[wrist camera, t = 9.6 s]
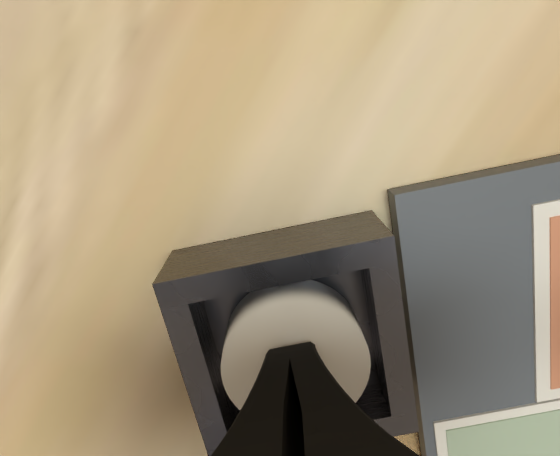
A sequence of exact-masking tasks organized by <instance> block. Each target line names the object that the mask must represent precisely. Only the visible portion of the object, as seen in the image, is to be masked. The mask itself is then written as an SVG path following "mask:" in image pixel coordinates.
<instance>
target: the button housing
mask: <svg viewBox="0 0 560 456" xmlns="http://www.w3.org/2000/svg"><path fill="white" fill-rule="evenodd" d="M306 280H314V281H317V282H320V283H323V284H325V285H327V286H329V287H331V288H332V289H334V290H335V291H337V292H338V293H339V294H340V295H341V296H343V297H344V298H345V299H346V301H347V302H348V303H349V304H350V306H351V308H352V309H353V311H354V313H355V315H356V318H357V320H358V323H359V325H360V328H361V330H362V333H363V335H364V338H365V340H366V343H367V346H368V349H369V353H370V360H371V368H370V375H369V380H368V382H367V385H366V388H365V390H364V391H363V393H362V395H361V397H360V398H359V399H358V401H357V402H356V404H357V405H358V406H359V407H360V408H361V409H362V410H363V411H364V412H365V413H366V414H367V415H368V416H369V417H370V418H371V419H372V420H374V421H375V422H376V423H377V424H378V425H379V426H380V427H382V428H383V429H384V430H385V431H386V432H388V433H389V434H390V435H391V436H399V435H404V434H410V433H415V432H419V427H418V420H417V412H416V404H415V396H414V388H413V380H412V372H411V364H410V356H409V348H408V340H407V332H406V325H405V317H404V309H403V301H402V293H401V285H400V277H399V269H398V261H397V253H396V245H395V237H394V235H393V234H392V233H391V232H390V230H389V229H388V228H387V227H386V226H385V225H384V224H383V223H382V221H381V220H380V219H379V218H378V217H377V216H376V215H375V214H374V212H373V211H367V212H362V213H357V214H352V215H347V216H342V217H337V218H332V219H327V220H323V221H318V222H313V223H308V224H303V225H298V226H293V227H288V228H283V229H278V230H273V231H268V232H263V233H258V234H253V235H248V236H244V237H239V238H234V239H229V240H224V241H219V242H214V243H209V244H204V245H199V246H194V247H189V248H184V249H179V250H174V251H172V252H171V254H170V256H169V257H168V259H167V261H166V262H165V264H164V266H163V267H162V269H161V271H160V272H159V274H158V276H157V277H156V279H155V281H154V282H153V284H152V285H153V288H154V291H155V294H156V297H157V300H158V303H159V306H160V309H161V312H162V315H163V318H164V322H165V325H166V328H167V331H168V334H169V337H170V340H171V343H172V346H173V349H174V352H175V355H176V358H177V361H178V364H179V367H180V371H181V374H182V377H183V380H184V383H185V386H186V389H187V392H188V395H189V398H190V401H191V404H192V407H193V410H194V413H195V416H196V420H197V423H198V426H199V429H200V432H201V435H202V438H203V441H204V444H205V447H206V450H207V453H208V456H211V454H212V453H213V452H214V451H215V449H216V448H217V446H218V445H219V444H220V442H221V441H222V439H223V438H224V436H225V435H226V433H227V432H228V430H229V429H230V427H231V426H232V424H233V422H234V421H235V419H236V417H237V415H238V414H239V412H240V410H239V409H238V408H237V407H236V406H235V405H234V404H233V402H232V401H231V400H230V398H229V396H228V395H227V393H226V391H225V388H224V385H223V382H222V377H221V358H222V352H223V346H224V341H225V335H226V329H227V325H228V321H229V319H230V316H231V314H232V312H233V311H234V309H235V307H236V306H237V305H238V304H239V302H240V301H241V300H242V299H243V298H244V297H245V296H246V295H247V294H249V293H250V292H251V291H256V290H261V289H266V288H271V287H276V286H281V285H286V284H291V283H296V282H301V281H306Z"/></svg>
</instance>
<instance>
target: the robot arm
mask: <svg viewBox="0 0 560 456" xmlns="http://www.w3.org/2000/svg"><path fill="white" fill-rule="evenodd" d="M211 456H419V455H418V454H416V453H415V452H413V451H412V450H411V449H409V448H408V447H406V446H405V445H404V444H402V443H401V442H400V441H398V440H397V439H396V438H394V437H393V436H391V435H390V434H389V433H388V432H386V431H385V430H384V429H383V428H382V427H380V426H379V425H378V424H377V423H376V422H375V421H374V420H372V419H371V418H370V417H369V416H368V415H367V414H366V413H365V412H364V411H363V410H362V409H361V408H360V407H359V406H358V405H357V404H356V403H355V402H354V401H353V400H352V399H351V397H350V396H349V395H348V394H347V393H346V392H345V391H344V390H343V388H342V387H341V386H340V385H339V383H338V382H337V381H336V379H335V378H334V377H333V375H332V374H331V373H330V371H329V370H328V369H327V367H326V366H325V364H324V362H323V361H322V359H321V357H320V356H319V354H318V352H317V349H316V347H315V344H314V343H312V342H311V341H310V342H305V343H300V344H294V345H289V346H284V347H279V348H274V349H269V350H268V352H267V353H266V356H265V359H264V361H263V364H262V367H261V369H260V371H259V374H258V376H257V378H256V381H255V383H254V385H253V387H252V389H251V391H250V393H249V395H248V397H247V399H246V401H245V403H244V405H243V406H242V408H241V410H240V412H239V414H238V415H237V417H236V419H235V421H234V422H233V424H232V426H231V427H230V429H229V430H228V432H227V433H226V435H225V436H224V438H223V439H222V441H221V442H220V444H219V445H218V446H217V448H216V449H215V451H214V452H213V453H212V454H211Z"/></svg>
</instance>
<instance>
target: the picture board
mask: <svg viewBox="0 0 560 456" xmlns="http://www.w3.org/2000/svg"><path fill="white" fill-rule="evenodd" d="M387 190H388V198H389V205H390V213H391V221H392V229H393V235H394V237H395V245H396V253H397V261H398V269H399V277H400V285H401V293H402V301H403V309H404V317H405V325H406V332H407V340H408V348H409V356H410V364H411V372H412V380H413V388H414V396H415V404H416V412H417V420H418V427H419V432H418V434H419V442H420V450H421V456H560V154H559V155H554V156H549V157H544V158H539V159H535V160H530V161H525V162H520V163H515V164H510V165H505V166H500V167H495V168H490V169H485V170H481V171H476V172H471V173H466V174H461V175H456V176H451V177H446V178H441V179H436V180H432V181H427V182H422V183H417V184H412V185H407V186H402V187H397V188H392V189H387Z"/></svg>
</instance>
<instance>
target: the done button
mask: <svg viewBox="0 0 560 456" xmlns="http://www.w3.org/2000/svg"><path fill="white" fill-rule="evenodd" d="M310 341H311V342H312V343H314V344H315V347H316V349H317V352H318V354H319V356H320V357H321V359H322V361H323V362H324V364H325V366H326V367H327V369H328V370H329V371H330V373H331V374H332V375H333V377H334V378H335V379H336V381H337V382H338V383H339V385H340V386H341V387H342V388H343V390H344V391H345V392H346V393H347V394H348V395H349V396H350V397H351V399H352V400H353V401H354V402H355V403H356V402H357V401H358V399H359V398H360V397H361V395H362V393H363V391H364V390H365V388H366V385H367V382H368V380H369V375H370V368H371V360H370V353H369V349H368V346H367V343H366V340H365V338H364V335H363V333H362V330H361V328H360V325H359V323H358V320H357V318H356V315H355V313H354V311H353V309H352V308H351V306H350V304H349V303H348V302H347V301H346V299H345V298H344V297H343V296H341V295H340V294H339V293H338V292H337V291H335V290H334V289H332V288H331V287H329V286H327V285H325V284H323V283H320V282H317V281H314V280H306V281H301V282H296V283H291V284H286V285H281V286H276V287H271V288H266V289H261V290H256V291H251V292H250V293H249V294H247V295H246V296H245V297H244V298H243V299H242V300H241V301H240V302H239V304H238V305H237V306H236V307H235V309H234V311H233V312H232V314H231V316H230V319H229V321H228V325H227V329H226V335H225V341H224V346H223V352H222V358H221V377H222V382H223V385H224V388H225V391H226V393H227V395H228V396H229V398H230V400H231V401H232V402H233V404H234V405H235V406H236V407H237V408H238V409H239V410H241V408H242V406H243V405H244V403H245V401H246V399H247V397H248V395H249V393H250V391H251V389H252V387H253V385H254V383H255V381H256V378H257V376H258V374H259V371H260V369H261V367H262V364H263V361H264V359H265V356H266V353H267V352H268V350H269V349H274V348H279V347H284V346H289V345H294V344H300V343H305V342H310Z"/></svg>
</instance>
